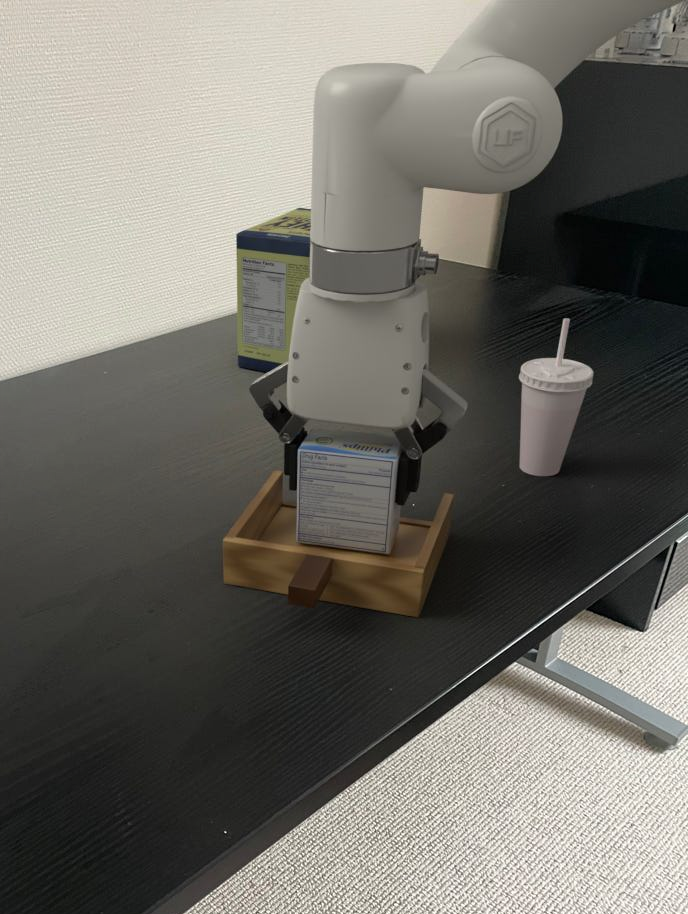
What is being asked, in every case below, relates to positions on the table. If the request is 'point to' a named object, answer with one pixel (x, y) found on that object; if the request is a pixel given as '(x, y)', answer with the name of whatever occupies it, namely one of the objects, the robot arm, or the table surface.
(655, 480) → the table surface
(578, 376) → the smoothie
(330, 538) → the medicine box
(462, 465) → the table surface
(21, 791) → the table surface
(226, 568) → the wooden drawer
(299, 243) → the protein box
